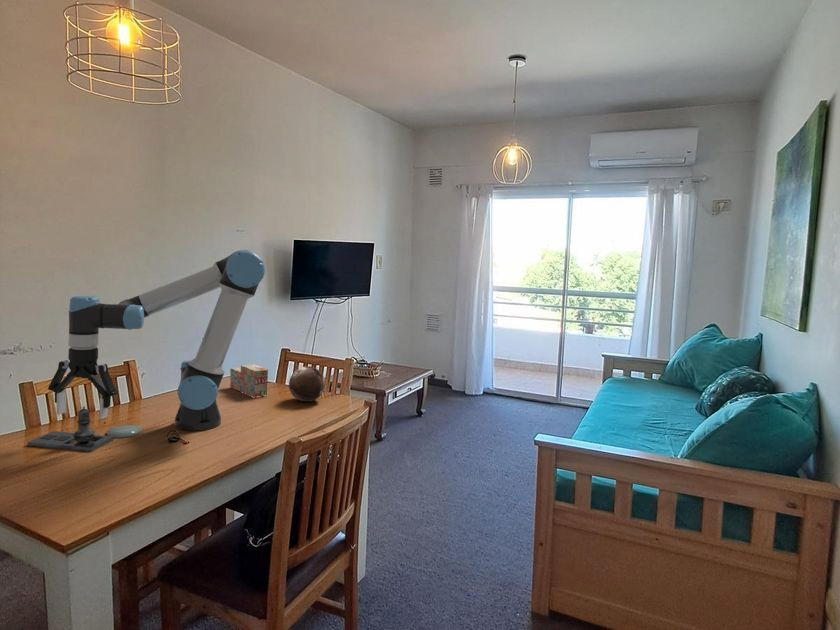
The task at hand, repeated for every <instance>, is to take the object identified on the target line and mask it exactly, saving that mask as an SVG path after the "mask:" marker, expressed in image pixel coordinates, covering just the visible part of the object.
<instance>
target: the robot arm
mask: <svg viewBox="0 0 840 630" xmlns="http://www.w3.org/2000/svg"><path fill="white" fill-rule="evenodd" d="M265 272H266V267H265V263H264V260H263V259H262V258H261V257H260V255H258V254H257V253H256V252H254V251H252V250H247V249H241V250H236V251H234V252H233V253H231V254H229V255H227V256H226V257H224V258H222V259H220V260H218V261H215V262H214V263H213V266H211V267H208V268H205V269H203V270H200V271H197V272H195V273H193V274H192V273H191V274H190V275H187V276H185V277H182V278H180V279H176V280H174V281H172V282H169V283H166V284H164V285H162V286H158V287H157V288H154V289H151V290H149V291H146V292H143V293H141V294H139V295H136V296H134V297H130V298H126V299H124V300H121V301H120V302H119V303H118V304H116V303H111V304H110V303H101V302H100V298H99V297H98V296H95V295H94V296H93V295H92V296H91V295H75V296H72V297H71V298H70V300H69V308H68V343H67V344H68V346H69V348H68V360H62V361H59V362H58V366H57V367H58V368H57V370H56V372H55V374H54V376H53V377H52V380H51V381H50V383H49V385H48V387H47V389H48V391H52V392H54V403H56V415H57V416H58V415H62V414H65V413H66V409H67V407H66V406H67V399H66V398H67V392H66V391H65V389H66V388H67V387H68V385H70V384H71V382H73V381H74V379H75V378H77V379H78V378H79V379H80V378H82V379H87V380H88V381H89V382H90V381H91V383H92V384H93V386H94V387H95V389H96V390H97V391H98V392H99V394H100V396H101V397H99V420H102V419H105V418H108V416H109V408H110V407H111V397H113V396H116V395H118V391H117V389H116V385H115V384H114V380H112V377H111V375H110V373H109V369H108V368H109V366H108V364H107V363H105V364H98V362H97V361H98V359H99V347H98V346H99V332H100V331H99V329H114V330H115V329H119V330H140V329H142V328H143V326H144V322H145V321H144V320H145V318H148V317H149V316H152V315H154V314H156V313H160V312H162V311H164V310H167V309H169V308H172V307H175V306H177V305H180V304H182V303H184V302H187V301H189V300H192V299H195V298H197V297H200V296H203V295H205V294H207V293H210V292H212V291H215V290H217V289H219V288H220V289H221V292H220V293H219V297H218V299H217V301H216V304H215V306H214V309H213V312H212V315H211V317H210V319H209V321H208V325H207V327H206V330H205V332H204V335H203V337H202V340H201V342H200V345H199V347H198V349H197V352H196V356H195V357H194V358H193V359H190V360H184V361H182V362H181V364H180V381H179V385H178V387H177V396H178V399H179V402H180V403H179V407H178V409H177V412H176V415H175V418H174V428H176V429H178V430H183V431H191V432H193V431H196V432H197V431H205V430H210V429H214V428H216V427H218V426H220V425H221V423H222V416H221V413H220V410H219V406H218V404H217V398H218V394H219V388H220V384H221V382H222V379H223V377H224V374H225V370H224V369H223V364H224V361H225V359H226V356H227V353H228V352H229V348H230V346H231V344H232V340H233V338H234V336H235V333H236V331H237V328H238V325H239V322H240V321H241V317H242V315H243V312H244V310H245V308H246V305H247V302H248V300H249V299H251V298H253V297H255V294H256V293H257V290H258V288H259V285H260V283H261V282H262V281H263V278H264V276H265ZM68 369H69V370H70V371H69V372H68V373H67V371H68ZM66 373H67V374H66ZM65 374H66V376H65Z"/></svg>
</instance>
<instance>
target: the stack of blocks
mask: <svg viewBox="0 0 840 630" xmlns="http://www.w3.org/2000/svg"><path fill="white" fill-rule="evenodd" d="M229 375H230V382H229V383H230V386H229V387H231V389H232V388H233V389H232V390H234V389H236V390H238V391H241V392H243V393H246V394H248V395H250V396H253V397H257V396H263V395H268V380H269V379H268V378H269V377H268V376H269V368H265V367H263V366H261V365H257V364H254V363H252V364H249V363H248V364H244V365H243V364H242V365H240V366H239V367H238V366H237V367H230V374H229ZM236 390H235V391H236ZM238 391H237V392H238ZM241 392H240V393H241ZM243 393H242V394H243ZM250 396H249V397H250Z"/></svg>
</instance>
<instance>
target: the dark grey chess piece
mask: <svg viewBox="0 0 840 630" xmlns="http://www.w3.org/2000/svg"><path fill="white" fill-rule="evenodd" d="M77 415H78V419H77V421H76V423H78V424H77V431H74V432H72V433H73V434H72V435H73V436H74V439H75V440H76V442H74V444H73V445H84V446H88V445H90V444H92V443H94V442H95V441H94V440H91V439H92V438H93V436H94V435H95V434H96V431H95V430H94V429H91V424H90V423H91V421H92V419H90V410H89V409H87V408H86V407H85V406H83V407H82V409H80V410H78V413H77Z"/></svg>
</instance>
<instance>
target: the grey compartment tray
mask: <svg viewBox="0 0 840 630" xmlns="http://www.w3.org/2000/svg"><path fill="white" fill-rule="evenodd" d="M73 433H74V432H67V431H56V430H55V431H54V430H52V431H51V432H48V433H46V434H43V435H41V436H39V437H36V438H34V439H32V440H29V441H27V447H34V446H36V447H37V448H45V449H55V450H56V449H58V450H69V451H78V452H91V453H92V452H94V451H96V450H97V449H100V448H101V447H103V446H105V445H107V444H109V443H111V442H113V441H114V438H113V437H112V436H107V435H100V434H94V436H93V438H92V439H91V441H93V442H94V443H92V444H90V445H88V446H84V445H74V444H75V443H77V441H76V440H75V439H74V436H73V435H72V434H73ZM73 443H74V444H73ZM36 447H35V448H36Z"/></svg>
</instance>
